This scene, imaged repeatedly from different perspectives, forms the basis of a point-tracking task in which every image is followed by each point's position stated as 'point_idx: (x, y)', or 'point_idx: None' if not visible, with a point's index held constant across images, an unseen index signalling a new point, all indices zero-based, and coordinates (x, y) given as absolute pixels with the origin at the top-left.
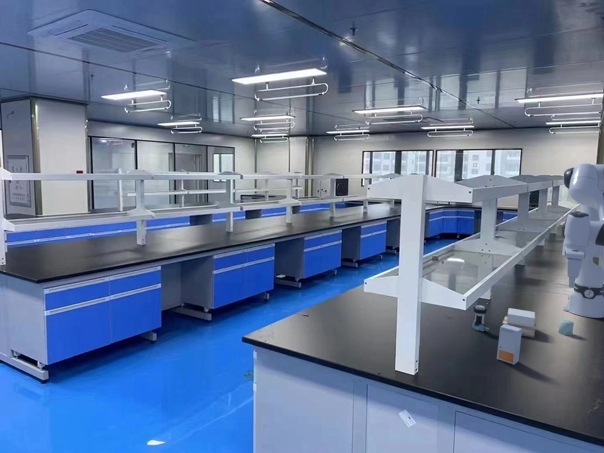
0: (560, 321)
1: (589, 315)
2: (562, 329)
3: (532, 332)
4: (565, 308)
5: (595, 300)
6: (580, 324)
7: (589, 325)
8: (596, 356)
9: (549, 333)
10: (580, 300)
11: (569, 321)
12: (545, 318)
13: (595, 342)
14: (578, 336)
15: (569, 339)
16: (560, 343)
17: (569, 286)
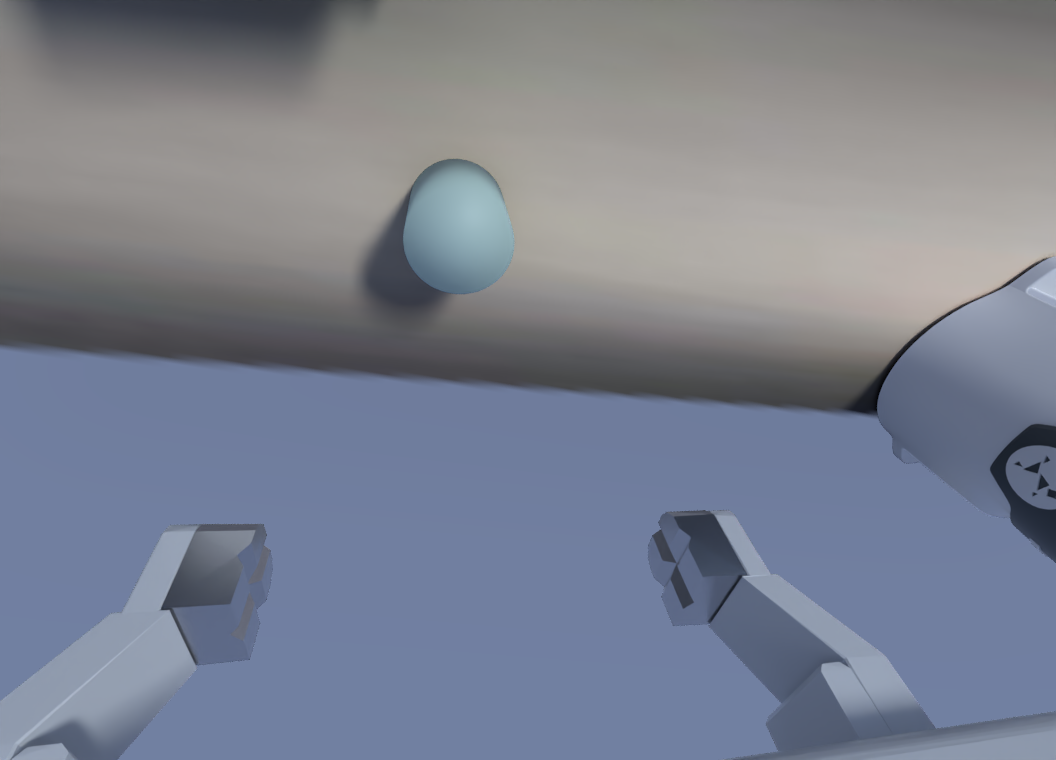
0: (441, 191)
1: (894, 387)
2: (414, 192)
3: None
4: (1049, 274)
5: (979, 473)
6: (730, 324)
7: (725, 366)
8: (58, 342)
9: (369, 72)
10: (1026, 394)
11: (491, 267)
12: (825, 90)
13: (375, 363)
14: None
15: (315, 221)
16: (132, 139)
17: (169, 538)
